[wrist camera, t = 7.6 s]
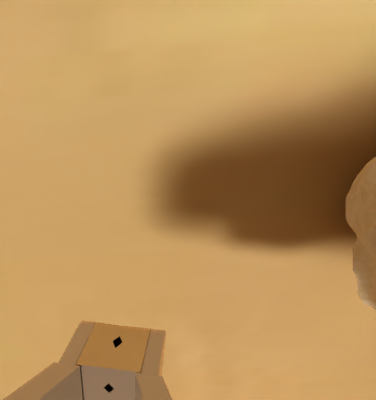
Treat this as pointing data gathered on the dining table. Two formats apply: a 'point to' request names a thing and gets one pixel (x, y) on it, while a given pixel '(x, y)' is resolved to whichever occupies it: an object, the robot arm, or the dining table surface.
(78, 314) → the dining table surface
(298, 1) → the dining table surface
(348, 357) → the dining table surface
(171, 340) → the dining table surface
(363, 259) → the beige rough lump
